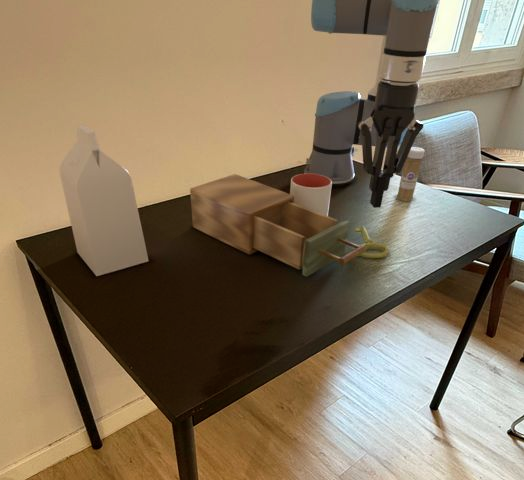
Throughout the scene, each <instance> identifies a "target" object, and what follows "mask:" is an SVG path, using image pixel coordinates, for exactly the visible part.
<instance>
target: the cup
mask: <svg viewBox="0 0 524 480" xmlns="http://www.w3.org/2000/svg"><path fill="white" fill-rule="evenodd" d="M332 187H333V186H332V181H331V179H329V178H328V177H326V176H323V175H319V174H304V173H300V174H296V175H294V176H292V177H291V179H290V188H289V194H291V195H293V196H294V204H297V205H299V206H302V207H305V208H307V209H310V210H313V211H315V212H318V213H321V214H323V215H326V216H328V217H329V209H330V201H331V194H332Z"/></svg>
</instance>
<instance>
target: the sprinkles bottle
mask: <svg viewBox="0 0 524 480" xmlns="http://www.w3.org/2000/svg"><path fill="white" fill-rule="evenodd" d="M424 155H425V149H424V148H422V147H418V146H412V147H411V149H410V152H409V154H408V156H407V158H406V161H405V163H404V165H403V168H402V170H401V176H400V180H399V187H398V192H397V194H396V198H397V199H398V200H400V201H405V202H409V201H412V200H413V198H414V192H415V189H416V186H417V183H418V178H419V174H420V170H421V164H422V162H423V158H424V157H425V156H424Z"/></svg>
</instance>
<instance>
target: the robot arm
mask: <svg viewBox="0 0 524 480" xmlns="http://www.w3.org/2000/svg"><path fill="white" fill-rule="evenodd" d="M439 3H440V0H311V9H310V11H311V12H310V24H311V25H310V26H311V28H312V29H313V30H314V31H315V32H319V33H328V34H330V35H331V34H346V35H347V34H348V35H351V34H352V35H367V36H368V35H369V36H382V42H381V47H380V53H379V60H378V66H377V71H376V78H375V84H374V86H373V87H372V88H371V89H370V90H369V91H368V92H367V98H365V99H364V98H361V95H360V92H358V91H351V90H349V91H348V90H343V91H342V90H341V91H333V92H329V93H325V94H323V95H322V96H320V97H319V98H318V100H317V102H316V109H315V113H314V117H315V120H314V130H313V140H312V149H311V153H310V155H309V158H307V157H306V160H305V164H306V166H305V167H304V171H303V172H304V173H303V174H319V175H323V176H326V177H328V178H329V179H331V181H332V187H344V186H348V185H350V184H351V183H353V182H354V178H355V170H354V163H353V157H354V155H355V154H356V153H355V152H356V145H357V146H361V150H362V166H363V170H364V172H366V173H367V174H368V175H370V178H369V185H368V189H369V190H370V191H371V195H370V201H369V204H370V205H371V206H372V208H374V209H375V208H377V209H378V208H381V207H382V202H383V198H384V193H385V192H387V191H388V190H389V187H390V182H391V178H393V177H394V175H395V174H399V173H402V171H403V167H404V164H405V161H406V158H407V156H408V154H409V152H410V149H411V147H413V145H414V143H415V141H416V138H417V137H418V135H419V134H420V132H421V131H422V130H424V124H423V122H420V121H419V120H417V119H416V118H415V116H416V115H415V114H416V113H415V109H416V103H417V99H418V95H419V89H420V85H419V83H418V82H420V81H421V79H422V76H423V71H424V66H425V62H426V57H427V52H428V46H429V42H430V38H431V34H432V29H433V25H434V21H435V17H436V12H437V9H438V5H439ZM353 145H355V146H353ZM373 147H374V151H373Z"/></svg>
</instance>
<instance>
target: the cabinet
mask: <svg viewBox="0 0 524 480" xmlns="http://www.w3.org/2000/svg"><path fill="white" fill-rule="evenodd" d="M189 193H190V194H189V195H190V206H191V208H190V209H191V218H192V219H191V220H192V228H194V229H196V230H198V231H200V232H202V233H204V234H206V235H208V236H210V237H212V238H214V239H216V240H218V241H220V242H222V243H224V244H227V245H229V246H231V247H232V248H235V249H237V250H239V251H240V252H243V253H245V254H247V255H249V256H250V255H252V254H254V253H257V252H260V251H259V250H257V249H255V248H252V218H253V217H252V216H255V215H257V214H260V213H262V212H264V211H267V210H269V209H272V208H274V207H276V206H279V205H281V204H284V203H286V202H288V201H289V202H292V203H294V196H293V195H291V194H290V193H288V192H285V191H283V190H280V189H277V188H274V187H271V186H269V185H266V184H264V183H261V182H259V181H255V180H252V179H250V178H247V177H245V176H242V175H239V174H236V173H233V174H230V175H228V176H224V177H221V178H218V179H215V180H212V181H209V182H206V183H203V184H199V185H197V186H194V187H191V188H189Z"/></svg>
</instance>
